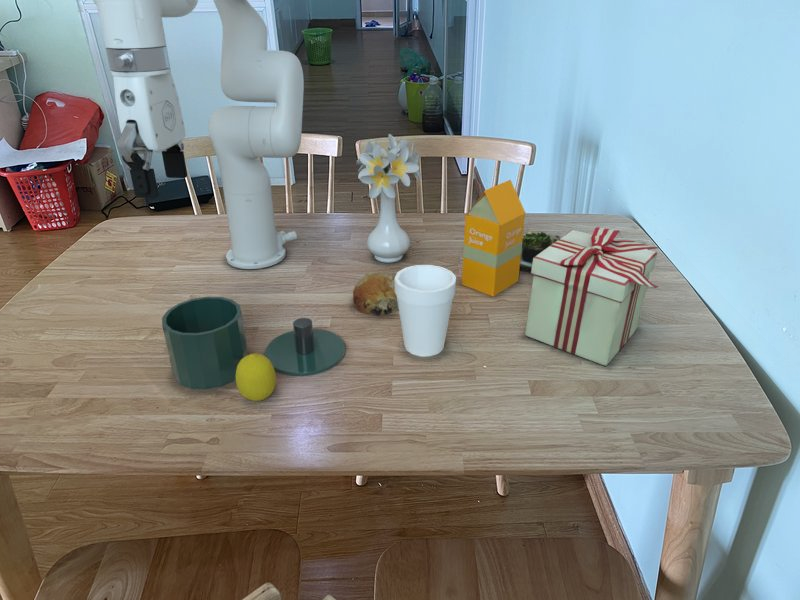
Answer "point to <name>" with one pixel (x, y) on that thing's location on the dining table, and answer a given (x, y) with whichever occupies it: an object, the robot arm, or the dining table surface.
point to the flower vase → (387, 195)
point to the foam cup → (424, 307)
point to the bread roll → (376, 294)
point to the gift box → (589, 293)
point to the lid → (305, 350)
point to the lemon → (255, 377)
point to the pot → (205, 341)
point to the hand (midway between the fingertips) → (162, 186)
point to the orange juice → (493, 240)
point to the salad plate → (534, 247)
